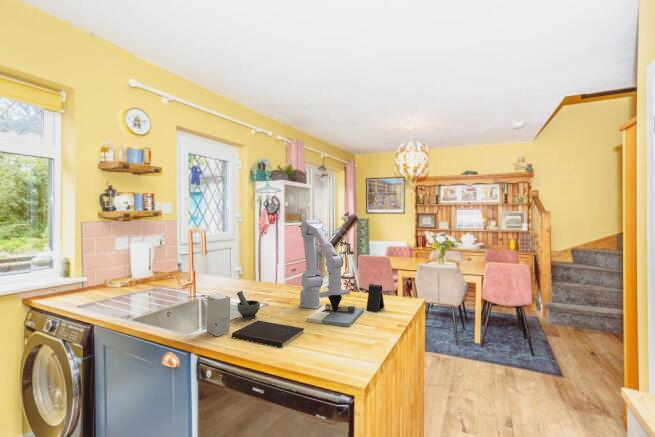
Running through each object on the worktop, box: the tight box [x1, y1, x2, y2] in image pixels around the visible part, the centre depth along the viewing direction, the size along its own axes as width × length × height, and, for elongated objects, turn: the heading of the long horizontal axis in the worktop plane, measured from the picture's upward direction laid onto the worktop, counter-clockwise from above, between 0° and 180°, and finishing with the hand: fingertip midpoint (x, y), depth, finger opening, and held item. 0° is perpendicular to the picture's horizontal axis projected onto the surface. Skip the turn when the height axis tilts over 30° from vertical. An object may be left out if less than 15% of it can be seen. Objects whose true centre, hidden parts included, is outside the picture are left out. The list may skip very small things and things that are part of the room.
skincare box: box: [205, 293, 231, 337], centre depth 127 cm, size 8×6×15 cm
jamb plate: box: [305, 304, 333, 324], centre depth 148 cm, size 7×22×2 cm, turn 158°
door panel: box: [322, 304, 364, 328], centre depth 144 cm, size 12×22×3 cm, turn 158°
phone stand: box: [365, 283, 385, 313], centre depth 157 cm, size 9×6×12 cm, turn 149°
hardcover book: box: [231, 319, 305, 348], centre depth 124 cm, size 16×23×2 cm
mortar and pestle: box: [236, 290, 261, 321], centre depth 144 cm, size 11×9×12 cm
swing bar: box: [325, 303, 356, 312], centre depth 149 cm, size 14×3×2 cm, turn 75°
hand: (334, 311), depth 146 cm, fingers closed
